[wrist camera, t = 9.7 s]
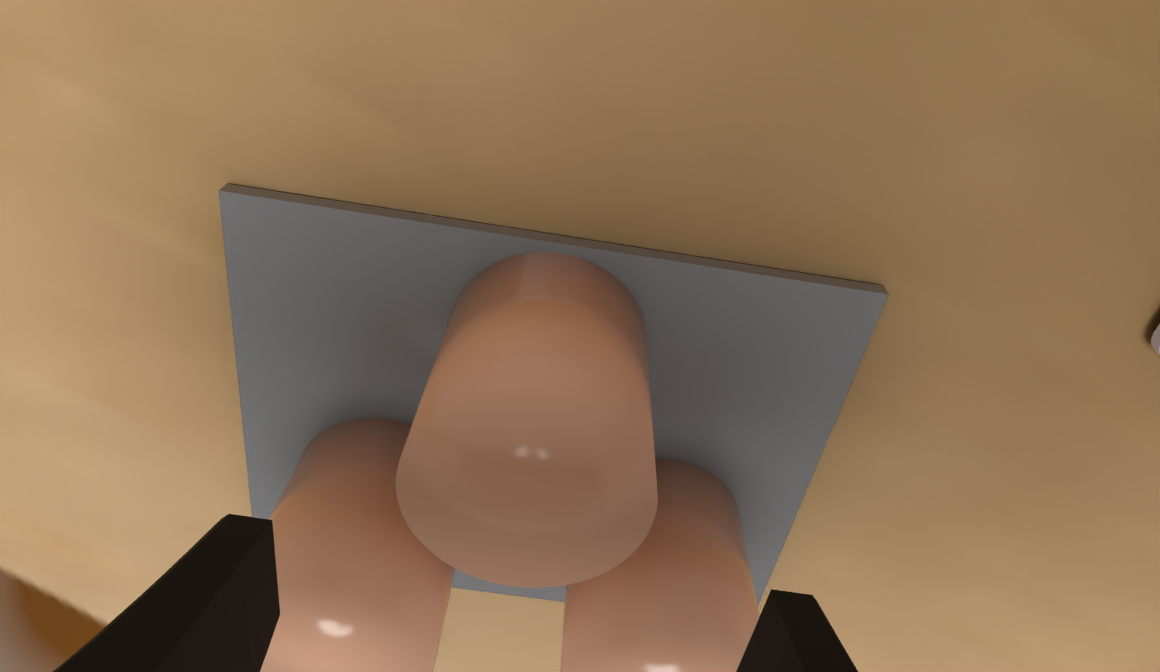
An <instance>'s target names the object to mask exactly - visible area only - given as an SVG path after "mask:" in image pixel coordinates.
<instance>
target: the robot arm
mask: <svg viewBox="0 0 1160 672" xmlns="http://www.w3.org/2000/svg"><path fill="white" fill-rule="evenodd" d="M1151 347H1152V348H1153V349H1154V351H1155V352H1156V353H1157V354H1158V355H1160V324H1159V325H1158V327H1157V328H1156V330H1155V331H1154V333H1153V336H1152V338H1151ZM279 616H280V605H279V593H278V582H277V570H276V558H275V546H274V534H273V523H272V520H269V519H262V518H254V517H247V516H240V515H233V514H228V515H226V516H225V517H223V518H222V519H221V520H220V521H219V522H218V523H217V524H216V525H214V526H213V527H212V528H211V529H210V530H209V531H208V532H207V533H206V534H205V535H204V536H203V537H202V538H201V539H200V540H199V541H198V542H197V543H196V544H195V545H194V546H193V547H192V548H191V549H190V550H189V551H188V552H187V553H186V554H185V555H184V556H182V557H181V558H180V559H179V560H178V561H177V562H176V563H175V564H174V565H173V566H172V567H171V568H170V569H169V570H168V571H167V572H166V573H165V574H163V575H162V576H161V577H160V578H159V579H158V580H157V581H156V582H155V583H154V584H153V585H152V586H151V587H150V588H148V589H147V590H146V591H145V592H144V593H143V594H142V595H141V596H140V597H139V598H138V599H136V600H135V601H134V602H133V603H132V604H131V605H130V606H129V607H127V608H126V609H125V610H124V611H123V612H122V613H121V614H120V615H118V616H117V617H116V618H115V619H114V620H113V621H112V622H111V623H109V624H108V625H107V626H106V627H105V628H104V629H103V630H102V631H100V632H99V633H98V634H97V635H96V636H95V637H94V638H93V639H91V640H90V641H89V642H88V643H87V644H86V645H85V646H84V647H82V648H81V649H80V650H79V651H78V652H76V653H75V654H74V655H73V656H71V657H70V658H69V659H68V660H66V661H65V662H64V663H63V664H62V665H60V666H59V667H58V668H57V669H56V670H54V671H53V672H260V670H261V668H262V665H263V662H264V659H265V657H266V654H267V651H268V648H269V645H270V642H271V639H272V637H273V634H274V631H275V628H276V625H277V622H278V619H279ZM736 672H858V671H857V669H856V667H855V666H854V664H853V662H852V661H851V659H850V657H849V655H848V654H847V652H846V650H845V649H844V647H843V645H842V644H841V642H840V640H839V638H838V637H837V635H836V633H835V632H834V630H833V628H832V626H831V625H830V623H829V621H828V620H827V618H826V616H825V614H824V613H823V611H822V609H821V607H820V606H819V604H818V602H817V601H816V599H815V598H814V597H813V595H808V594H800V593H793V592H786V591H779V590H772V589H771V592H770V594H769V596H768V599H767V601H766V603H765V606H764V608H763V610H762V613H761V615H760V617H759V620H758V622H757V624H756V627H755V629H754V631H753V634H752V636H751V638H750V641H749V643H748V645H747V648H746V650H745V652H744V655H743V657H742V659H741V662H740V664H739V666H738V669H737V671H736Z"/></svg>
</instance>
